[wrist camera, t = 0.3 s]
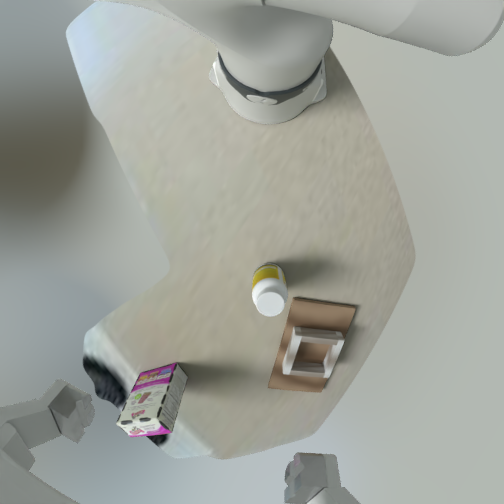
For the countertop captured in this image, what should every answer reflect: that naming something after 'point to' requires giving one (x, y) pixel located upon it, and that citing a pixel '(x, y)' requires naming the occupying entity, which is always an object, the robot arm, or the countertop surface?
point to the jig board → (310, 345)
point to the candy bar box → (153, 402)
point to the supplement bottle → (269, 289)
